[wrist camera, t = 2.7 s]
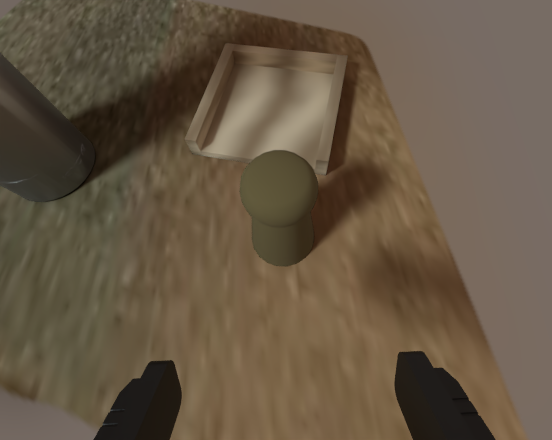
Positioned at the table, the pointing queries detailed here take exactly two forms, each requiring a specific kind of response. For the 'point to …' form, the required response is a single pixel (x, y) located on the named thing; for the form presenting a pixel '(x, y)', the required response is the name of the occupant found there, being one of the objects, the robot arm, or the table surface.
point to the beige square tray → (269, 105)
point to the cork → (280, 205)
